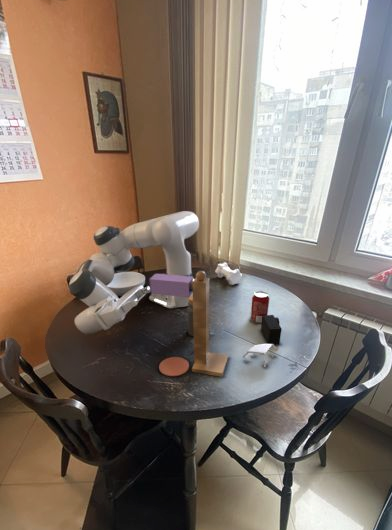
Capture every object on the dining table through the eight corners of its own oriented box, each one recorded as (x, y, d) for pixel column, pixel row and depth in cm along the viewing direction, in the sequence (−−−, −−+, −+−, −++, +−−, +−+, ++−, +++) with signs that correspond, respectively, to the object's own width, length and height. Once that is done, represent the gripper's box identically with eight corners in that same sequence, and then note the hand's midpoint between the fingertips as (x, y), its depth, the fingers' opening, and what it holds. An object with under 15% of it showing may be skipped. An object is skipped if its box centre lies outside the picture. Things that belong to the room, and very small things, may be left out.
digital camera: (282, 344, 110) (285, 328, 107) (268, 345, 110) (270, 329, 106) (274, 329, 119) (276, 314, 115) (260, 330, 119) (262, 315, 115)
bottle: (192, 337, 115) (191, 302, 107) (185, 330, 120) (184, 296, 112) (205, 333, 117) (205, 299, 109) (198, 327, 122) (198, 293, 114)
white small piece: (260, 373, 97) (261, 360, 94) (241, 361, 102) (242, 349, 100) (283, 358, 103) (285, 346, 101) (264, 347, 109) (265, 336, 106)
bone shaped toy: (242, 283, 159) (243, 269, 154) (228, 287, 156) (229, 272, 151) (227, 274, 170) (227, 260, 166) (214, 277, 167) (214, 263, 163)
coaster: (153, 370, 99) (152, 369, 99) (170, 354, 106) (170, 353, 106) (178, 380, 95) (178, 379, 94) (194, 363, 102) (194, 362, 102)
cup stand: (167, 367, 100) (159, 274, 83) (177, 350, 108) (171, 262, 91) (222, 376, 96) (225, 280, 78) (228, 358, 104) (232, 267, 86)
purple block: (150, 293, 90) (149, 279, 88) (156, 287, 94) (155, 273, 91) (189, 297, 87) (188, 282, 85) (193, 291, 91) (193, 276, 88)
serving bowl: (121, 281, 165) (120, 269, 161) (154, 287, 157) (153, 275, 153) (95, 296, 149) (92, 283, 145) (130, 304, 141) (127, 290, 137)
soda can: (266, 325, 122) (269, 298, 116) (249, 323, 124) (252, 297, 117) (266, 317, 128) (269, 291, 122) (250, 315, 129) (252, 290, 123)
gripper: (131, 304, 110) (160, 290, 103) (102, 333, 93) (134, 318, 87) (121, 289, 108) (150, 274, 101) (89, 316, 91) (122, 300, 84)
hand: (143, 294), depth 94 cm, fingers open, 8 cm apart
